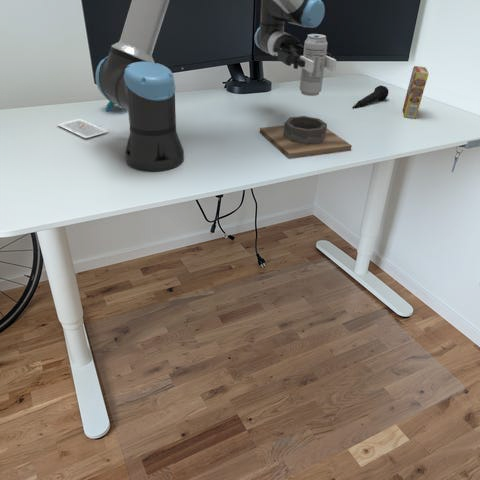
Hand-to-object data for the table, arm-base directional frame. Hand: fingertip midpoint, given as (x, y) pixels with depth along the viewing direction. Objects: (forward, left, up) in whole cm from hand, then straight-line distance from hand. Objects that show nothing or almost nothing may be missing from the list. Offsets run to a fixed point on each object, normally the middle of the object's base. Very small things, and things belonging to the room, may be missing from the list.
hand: (323, 66), depth 120 cm
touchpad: (-17, +66, -23) cm, 72 cm away
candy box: (+45, -24, -23) cm, 56 cm away
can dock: (+4, +4, -23) cm, 23 cm away
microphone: (+51, -9, -23) cm, 57 cm away
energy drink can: (+4, +3, -9) cm, 10 cm away
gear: (+3, +67, -23) cm, 71 cm away
